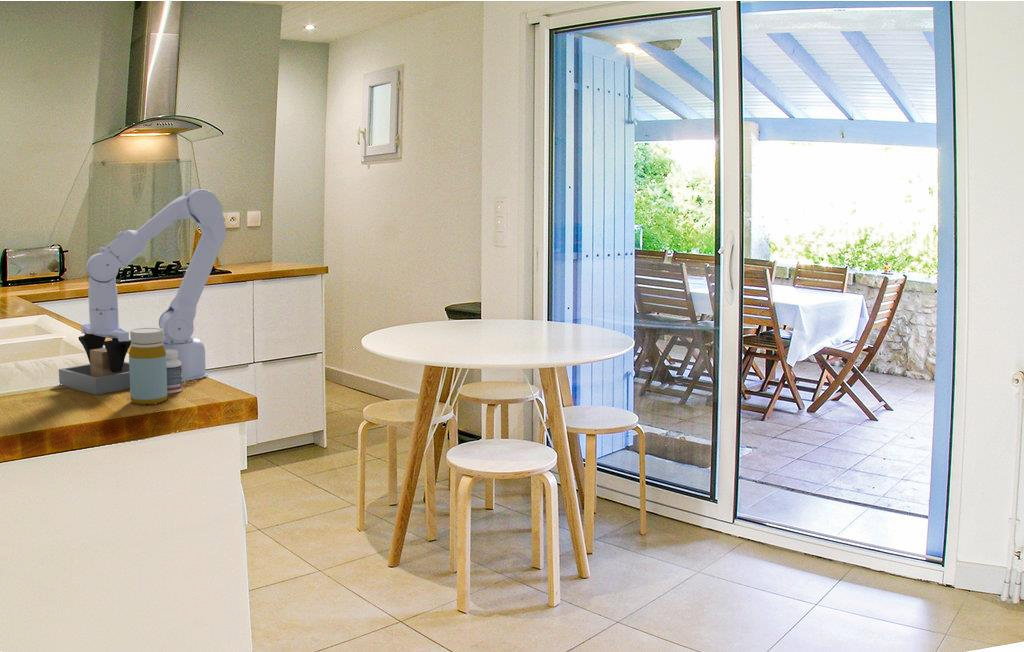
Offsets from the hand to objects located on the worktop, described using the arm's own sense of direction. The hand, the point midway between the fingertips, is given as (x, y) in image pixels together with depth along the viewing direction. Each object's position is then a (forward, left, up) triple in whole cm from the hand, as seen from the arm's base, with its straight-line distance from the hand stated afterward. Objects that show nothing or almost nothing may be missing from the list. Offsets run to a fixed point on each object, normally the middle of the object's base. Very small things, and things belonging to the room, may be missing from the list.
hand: (106, 369), depth 185 cm
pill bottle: (-5, +15, -4) cm, 16 cm away
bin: (0, 0, -3) cm, 3 cm away
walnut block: (0, 0, -3) cm, 3 cm away
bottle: (+3, +19, -4) cm, 20 cm away
